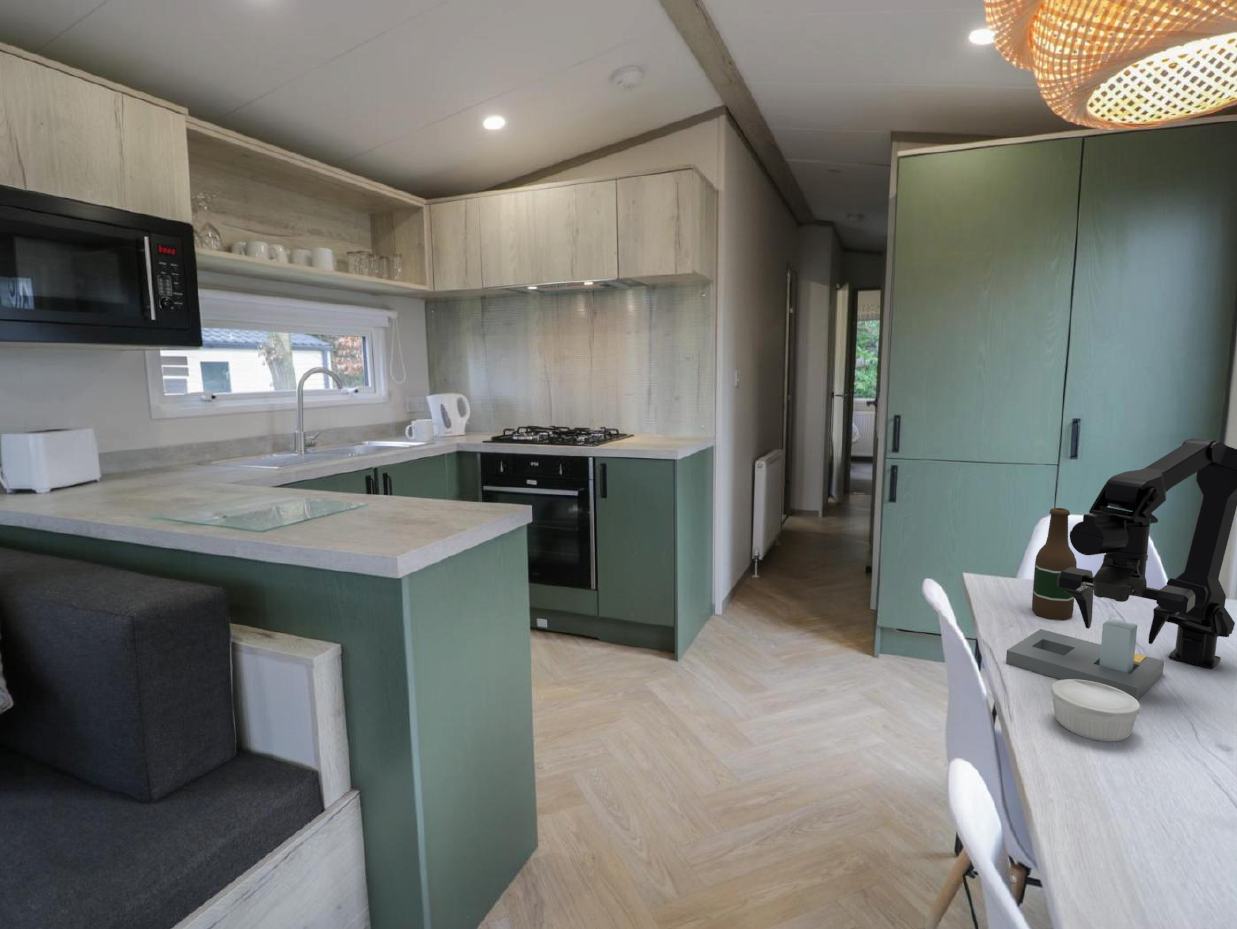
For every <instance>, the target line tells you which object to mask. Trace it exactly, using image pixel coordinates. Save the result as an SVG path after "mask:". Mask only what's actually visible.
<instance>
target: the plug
mask: <svg viewBox="0 0 1237 929" xmlns="http://www.w3.org/2000/svg"><path fill="white" fill-rule="evenodd" d="M1137 631H1138V624H1137V623H1133V622H1129V621H1124V620H1120V619H1116V618H1108V619H1107V620H1106V621H1105V622H1103V623H1102V630H1101V633H1102V634H1101V652H1100V663H1099V665H1100V666H1103V667H1107V668H1110V669H1114V670H1117V671H1121V672H1125V673H1128V674H1131V673H1132V672H1133V666H1134V655H1135V653H1136V642H1137V633H1138V632H1137Z"/></svg>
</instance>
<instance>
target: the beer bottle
mask: <svg viewBox="0 0 1237 929" xmlns="http://www.w3.org/2000/svg"><path fill="white" fill-rule="evenodd" d="M1049 514H1050V518H1049V523H1048V524H1049V526H1048V531H1047V537H1046V542H1045V543H1044V544H1043V545H1042V546H1041V548H1040V549H1039V550H1038V552H1037V554H1036V556H1035V561H1034V572H1033V573H1034V574H1033V586H1032V587H1033V588H1032V598H1031V609H1032V612H1033V613H1034V615H1036V616H1038V617H1040V618H1044V619H1047V620H1050V621H1051V620H1053V621H1066V620H1070V619H1072V617H1073V614H1074V605H1075V604H1074V603H1075V598H1074V597H1073V596H1072V595H1071V594H1070V593H1066V592H1065V589H1066V588H1062V587H1058V586H1057V577H1058V574H1059V573H1060V572H1062V571H1064V570H1066V569H1068V568H1069V567H1074V568H1078V567H1077V559H1076V556H1075V553H1074V552H1073V550H1072V548H1070V543H1069V516H1070V515H1071V513H1070V510H1069V509H1066V508H1065V507H1063V508H1062V507H1053V508H1050V510H1049Z"/></svg>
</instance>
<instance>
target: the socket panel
mask: <svg viewBox="0 0 1237 929" xmlns="http://www.w3.org/2000/svg"><path fill="white" fill-rule="evenodd" d="M1100 652H1101V644H1100V643H1096V642H1093V641H1089V640H1084V639H1081V638H1077V637H1073V636H1068V635H1065V634H1063V633H1062V634H1061V633H1058V632H1055V631H1050V630H1046V629H1043V628H1040V629H1038V630H1037V631H1035V632H1033V633H1032V634H1030V635H1029V636H1027V637H1026V638H1024V639H1023V640H1020V641H1018V642H1017V643H1016V644H1014V645H1013V646H1011V647H1009V648H1008V649H1007V650H1006V655H1005V656H1006V657H1005V658H1006V659H1005V663H1006V664H1008V665H1012V666H1015V667H1018V668H1021V669H1025V670H1029V671H1032V672H1035V673H1038V674H1041V675H1045V676H1048V677H1052V678H1054V679H1057V680H1066V679H1078V680H1087V681H1092V682H1097V683H1101V684H1105V685H1108V686H1111V687H1114V688H1116V689H1119V690H1121V691H1123V692H1125V693H1127V694H1129V695H1131V696H1132V697H1134V698H1135V699H1136V700H1137V701H1138V700H1139V699H1141V697H1142V696H1144V694H1146V692H1147V691H1148V690H1149V689H1150V688H1151V687H1152V686H1153V685H1154V684H1155V683H1156V682H1157V681H1158V680H1159V679H1160V678H1161V677H1162V676H1163V675H1164V669H1165V668H1164V666H1165V660H1163V659H1157V658H1155V657H1150V656H1148V655H1147V656H1146V655H1143V654H1138V653H1136V652H1135V655H1134V666H1133V672H1132V673H1131V674H1128V673H1125V672H1121V671H1117V670H1114V669H1110V668H1107V667H1103V666H1100V665H1099V663H1100Z"/></svg>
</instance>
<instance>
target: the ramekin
mask: <svg viewBox="0 0 1237 929" xmlns="http://www.w3.org/2000/svg"><path fill="white" fill-rule="evenodd" d="M1050 694H1051V697H1052V702H1053V712H1054V713H1053V714H1054V716H1055V719H1056V720H1057V722H1058V723H1059V724H1060V725H1061V726H1062V727H1063V728H1064V729H1065V730H1068V731H1070V732H1072V733H1073V734H1076V735H1078V736H1081V737H1084V738H1087V739H1090V740H1094V741H1101V742H1108V743H1109V742H1114V743H1115V742H1121V741H1123V740H1125V739H1127V738H1128V737H1129V736H1130V735H1131V734H1132V731H1133V728H1134V725H1135V722H1136V719H1137V717H1138V716H1139V714H1140V713H1141V712H1140V711H1141V703H1140V702H1139V701H1138V700H1136V699H1135V698H1134V697H1132V696H1131V695H1129V694H1127V693H1125V692H1123V691H1121V690H1119V689H1116V688H1114V687H1111V686H1108V685H1105V684H1101V683H1097V682H1092V681H1087V680H1078V679H1066V680H1061V679H1059V680H1057V681H1054V683H1052V685H1051V690H1050Z"/></svg>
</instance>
